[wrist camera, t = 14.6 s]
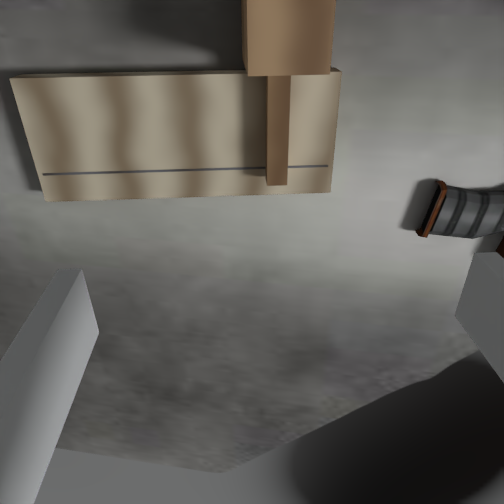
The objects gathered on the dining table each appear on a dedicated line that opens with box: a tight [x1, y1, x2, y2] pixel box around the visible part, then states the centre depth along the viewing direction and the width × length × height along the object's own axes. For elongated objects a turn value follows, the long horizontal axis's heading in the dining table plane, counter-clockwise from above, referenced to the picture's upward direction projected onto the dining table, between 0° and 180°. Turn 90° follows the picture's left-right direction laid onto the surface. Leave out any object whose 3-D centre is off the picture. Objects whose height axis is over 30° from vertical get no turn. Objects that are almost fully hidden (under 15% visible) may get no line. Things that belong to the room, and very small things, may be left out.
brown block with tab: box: [241, 0, 336, 186], centre depth 36 cm, size 6×16×11 cm, turn 1°
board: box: [9, 68, 342, 202], centre depth 41 cm, size 30×12×2 cm, turn 91°
